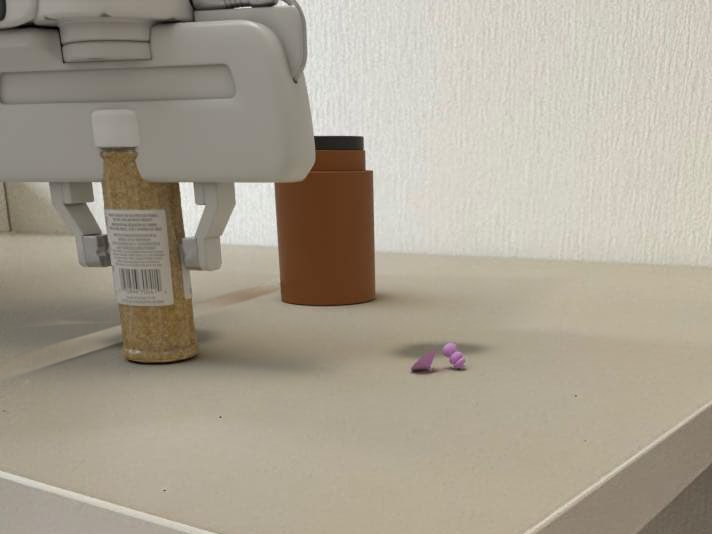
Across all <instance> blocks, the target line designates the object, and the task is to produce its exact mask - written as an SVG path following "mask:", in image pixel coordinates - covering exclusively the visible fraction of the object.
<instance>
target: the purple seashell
mask: <svg viewBox="0 0 712 534" xmlns="http://www.w3.org/2000/svg"><path fill="white" fill-rule="evenodd" d="M437 351H438V350H437V349H436V348H435V349H432V350H431V351H428V352H427V353H425V354H424V355H423V356H422V357H420V358H419V359H418V360H417V361H416V362H415V363H413V365H411V367H410V371H418V370H427V369H428V371H429V372H431V373H432V372H433V371H434V368H433V367H432V365H433V361H434V358H435V356H436V354H437ZM442 355H443V356H445V357H446V358H448V362H449V364H451V365H453V368H454V369H460V370H463V369H465V367H466V365H465V364H466V361H467V360H466V357H463V356H464V355H463V352H462V351H458V346H457V345H456V344H455V342H447V343H446V344H444V346H443V347H442Z"/></svg>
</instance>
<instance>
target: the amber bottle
mask: <svg viewBox="0 0 712 534" xmlns="http://www.w3.org/2000/svg"><path fill="white" fill-rule="evenodd" d="M314 142H315V163H314V165H313V167H312V168H311V170H310V172H309V173H308V175H307V176H306V178H305V179H304V180H303V181H300V182H290V183H273V185H274V186H273V187H274V201H275V219H276V235H277V251H278V266H279V267H278V269H279V283H280V286H279V287H280V298H281V301H283V302H284V303H289V304H293V305H301V306H345V305H355V304H363V303H367V302H370V301H373V300H375V299H376V298H377V297H376V247H375V196H374V195H375V193H374V170H371V169H367V167H366V166H367V165H366V164H367V163H366V161H367V160H366V150H365V138H364V136H362V135H314Z"/></svg>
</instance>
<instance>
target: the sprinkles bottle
mask: <svg viewBox="0 0 712 534" xmlns="http://www.w3.org/2000/svg"><path fill="white" fill-rule="evenodd" d="M92 127H93V135H94V142H95V146H96V147H98V148H100V149H102V150H103V151H104V152H100V153H99V154H100V157H101V158H102V159H103V160H104V162H103V170H104V173H103V180H102V182H100V185H101V192H102V193H101V194H102V199H103V215H104V222H105V229H106V234H107V237H108V244H109V251H110V259H111V266H110V267H111V272H112V280H113V289H114V295H115V296H114V297H115V300H116V303H117V308H118V309H117V310H118V315H119V321H120V329H121V331H120V332H121V337H122V343H123V345H122V356H123V357H124V358H126V359H127V360H129V361H133V362H136V363H137V362H138V363H141V364H156V363H157V364H158V363H174V362H178V361H185V360H188V359H191V358H193V357H194V356H196V355H197V354H198V353H199V349H200V345H199V342H198V340H197V334H196V326H195V320H194V319H195V317H194V308H193V307H194V306H193V288H192V279H191V270H187V269H186V268H185V265H184V257H185V253H184V252H183V248H182V238H186V231H185V225H184V223H185V222H184V216H183V207H182V195H181V186H180V182H148V181H146V180H144V179H142V178H141V175H140V173H139V171H138V168H137V165H136V162H135V159H136V158H137V156H138V153H137V152H136V151H135V148H137V147H138V146H139V145H140V140H139V130H138V123H137V116H136V113H135V112H134V111H132V110H129V109H108V110H97V111H94V112H93V113H92Z"/></svg>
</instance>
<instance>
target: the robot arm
mask: <svg viewBox="0 0 712 534" xmlns="http://www.w3.org/2000/svg"><path fill="white" fill-rule="evenodd" d="M280 1H281V2H284V3H285V4H286V5H278V4H279V2H280ZM307 31H308V29H307V20H306V16H305V13H304V11H303V9H302V7H301V5H300V4H299V3H298V1H297V0H0V183H48V188H49V193H50V200H51V205H52V206H53V208H54V209H55V211H56V213H57V214H58V216H59V217H60V218H61V220H62V222H63V223H64V224H65V226H66V227H67V229H68V230H69V232H70V234H71V235H72V236H74V239H75V245H76V246H75V247H76V252H77V253H76V254H77V259H78V263H79V265H80V266H81V267H83V268H108V267H112V266H111V259H110V251H109V244H108V237H107V233H103V231H102V229H101V227H100V225H99V223H98V222H97V221H96V218H95V217H94V215H93V213H92V211H91V209H90V208H89V206H88V204H87V203H93V202H94V201H95V195H94V188H93V183H101V182H102V180H103V173H104V170H103V162H104V160H103V159H102V158H101V157H100V154H99V153H100V152H104V151H103V150H102V149H100V148H98V147H96V146H95V142H94V135H93V127H92V113H93V112H94V111H97V110H108V109H129V110H132V111H134V112H135V113H136V116H137V123H138V130H139V140H140V145H139V146H138V147H137V148H135V151H136V152H137V153H138V156H137V158H136V159H135V162H136V165H137V168H138V171H139V173H140V175H141V178H142V179H144V180H146V181H148V182H179V183H192V185H193V194H194V195H193V196H194V203H195V204H196V205H197V206H204V209H203V211H202V214H201V217H200V220H199V223H198V225H197V228H196V231H195V233H194V236H188V237H186V236H185V238H182V248H183V252H184V253H185V257H184V265H185V268H186V269H187V270H190V271H196V272H213V271H217V270H220V269H221V267H222V264H223V258H222V245H221V236H223V234H224V232H225V229H226V228H227V225H228V223H229V220H230V218H231V216H232V214H233V212H234V209H235V207H236V205H237V200H236V188H235V183H237V184H239V183H244V184H245V183H247V184H249V183H250V184H251V183H254V184H259V183H260V184H261V183H262V184H263V183H264V184H265V183H266V184H267V183H269V184H270V183H271V184H274V183H290V182H300V181H303V180H304V179H305V178H306V176H307V175H308V173H309V172H310V170H311V168H312V167H313V165H314V163H315V142H314V136H315V133H314V132H315V131H314V125H313V117H312V110H311V103H310V98H309V91H308V87H307V81H306V77H305V72H304V70H305V68H306V66H307V61H308V54H309V53H308V32H307Z"/></svg>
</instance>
